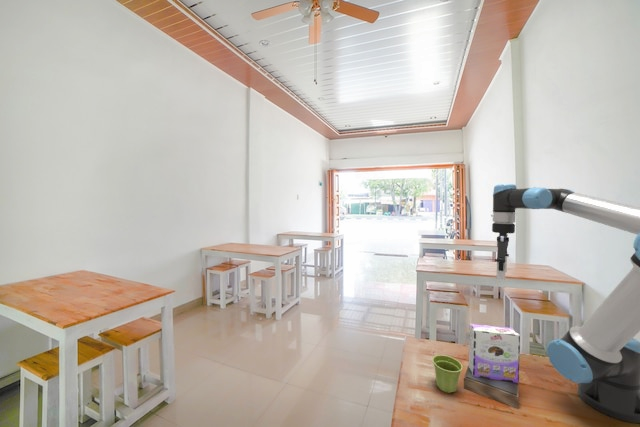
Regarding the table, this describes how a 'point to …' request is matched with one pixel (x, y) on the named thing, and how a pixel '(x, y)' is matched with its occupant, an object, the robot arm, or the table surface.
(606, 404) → the robot arm
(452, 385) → the plant pot
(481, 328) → the candy box
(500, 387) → the plinth
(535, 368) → the table surface
